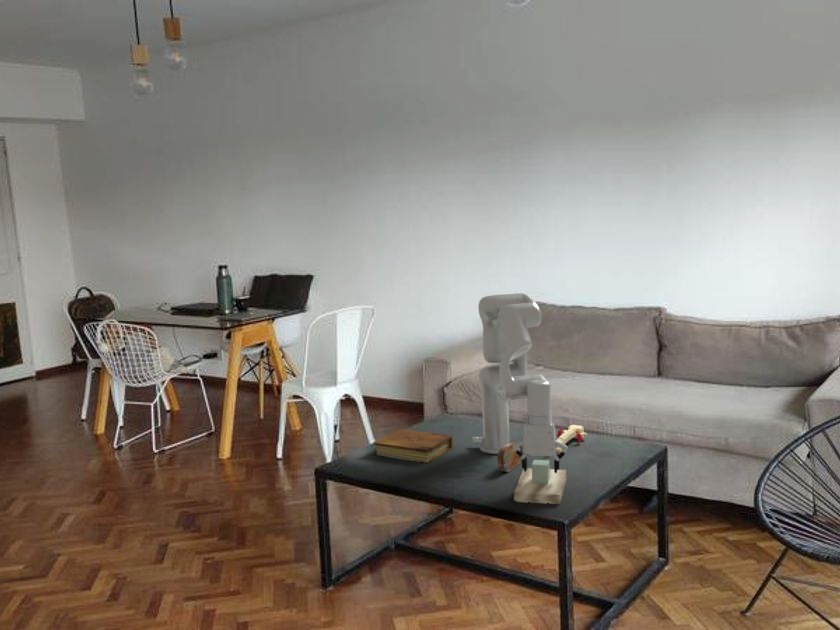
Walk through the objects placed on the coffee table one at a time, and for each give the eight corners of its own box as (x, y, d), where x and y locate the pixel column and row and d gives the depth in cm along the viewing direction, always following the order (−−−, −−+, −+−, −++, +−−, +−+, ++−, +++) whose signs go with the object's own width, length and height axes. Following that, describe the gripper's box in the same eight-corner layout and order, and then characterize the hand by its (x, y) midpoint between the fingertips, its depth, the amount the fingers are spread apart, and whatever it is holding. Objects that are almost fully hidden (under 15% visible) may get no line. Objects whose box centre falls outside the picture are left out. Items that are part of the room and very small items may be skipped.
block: (532, 483, 259) (531, 465, 258) (534, 477, 264) (533, 459, 263) (548, 484, 258) (547, 465, 257) (549, 478, 262) (549, 460, 261)
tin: (504, 475, 276) (503, 451, 274) (496, 474, 277) (495, 450, 276) (523, 461, 288) (522, 438, 287) (515, 460, 290) (514, 437, 288)
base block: (514, 501, 253) (513, 492, 252) (524, 476, 273) (524, 467, 273) (559, 504, 249) (559, 494, 248) (566, 478, 270) (566, 469, 269)
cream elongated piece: (566, 460, 292) (592, 435, 312) (564, 437, 290) (591, 413, 310) (540, 456, 297) (568, 431, 317) (539, 433, 295) (567, 410, 315)
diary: (452, 449, 306) (452, 435, 305) (428, 465, 291) (427, 450, 290) (401, 442, 318) (400, 427, 317) (374, 456, 302) (373, 441, 301)
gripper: (510, 421, 256) (511, 473, 259) (566, 423, 252) (567, 476, 254) (513, 414, 263) (515, 465, 266) (568, 416, 259) (569, 468, 261)
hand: (540, 470), depth 260 cm, fingers open, 9 cm apart
